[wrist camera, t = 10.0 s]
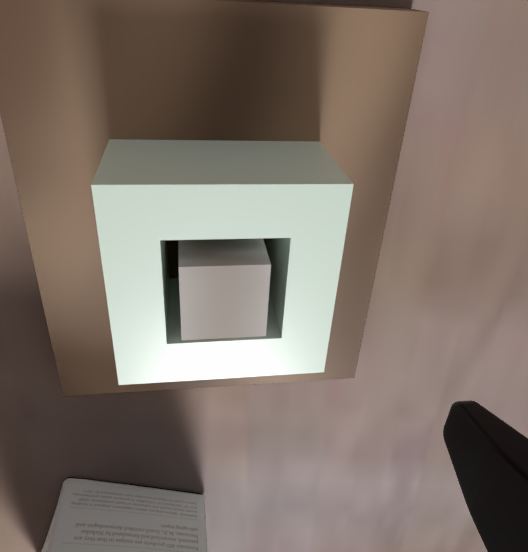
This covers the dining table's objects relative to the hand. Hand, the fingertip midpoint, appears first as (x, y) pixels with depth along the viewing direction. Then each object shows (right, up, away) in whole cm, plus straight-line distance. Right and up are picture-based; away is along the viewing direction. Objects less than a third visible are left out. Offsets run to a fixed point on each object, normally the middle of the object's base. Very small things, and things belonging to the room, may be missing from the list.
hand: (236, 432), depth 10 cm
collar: (-1, +4, +7) cm, 9 cm away
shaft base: (-1, +5, +8) cm, 10 cm away
